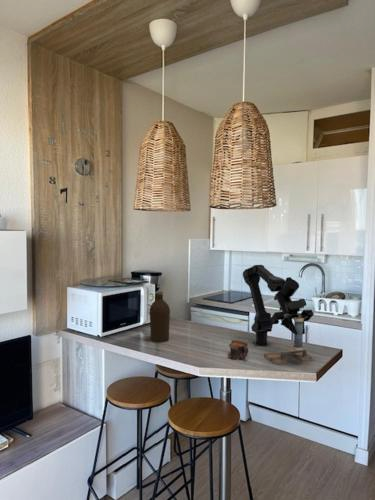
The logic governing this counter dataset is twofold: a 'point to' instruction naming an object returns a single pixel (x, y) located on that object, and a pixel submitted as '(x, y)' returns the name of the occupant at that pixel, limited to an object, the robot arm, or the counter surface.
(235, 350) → the pottery mug
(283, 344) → the counter surface
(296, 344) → the spool
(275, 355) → the board
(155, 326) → the olive oil
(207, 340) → the counter surface
